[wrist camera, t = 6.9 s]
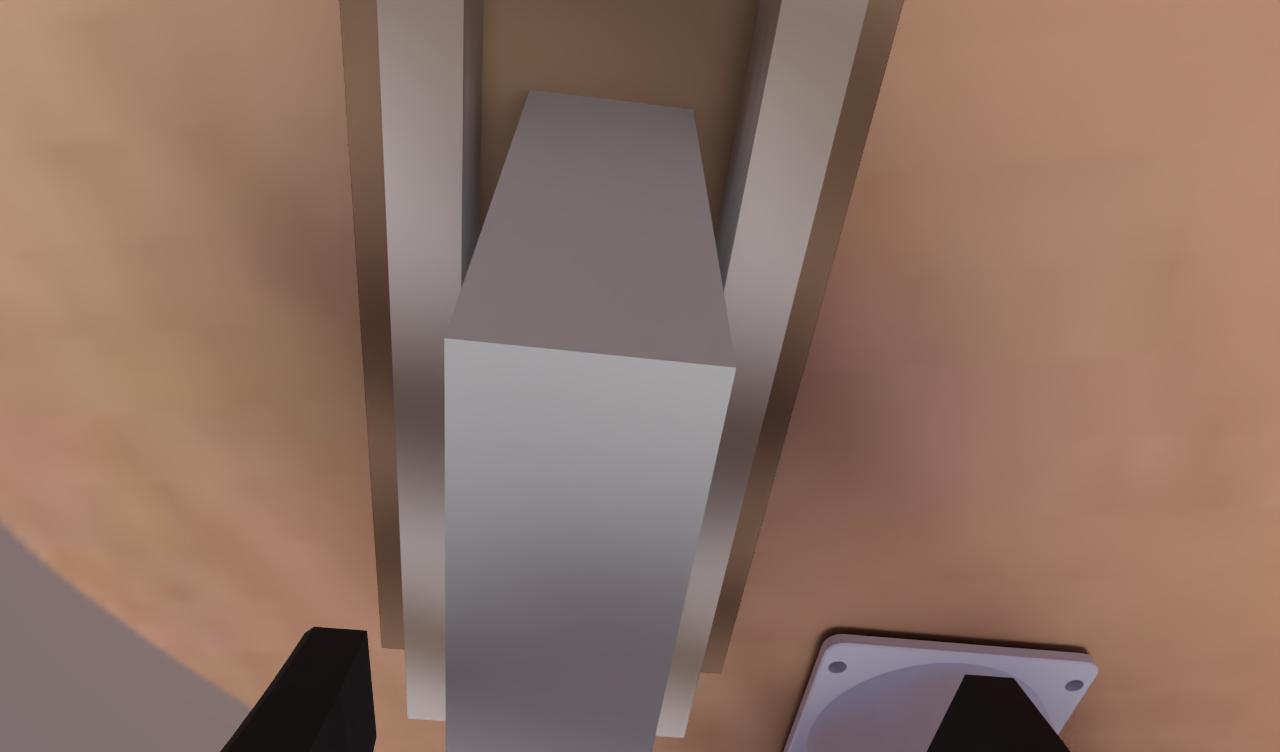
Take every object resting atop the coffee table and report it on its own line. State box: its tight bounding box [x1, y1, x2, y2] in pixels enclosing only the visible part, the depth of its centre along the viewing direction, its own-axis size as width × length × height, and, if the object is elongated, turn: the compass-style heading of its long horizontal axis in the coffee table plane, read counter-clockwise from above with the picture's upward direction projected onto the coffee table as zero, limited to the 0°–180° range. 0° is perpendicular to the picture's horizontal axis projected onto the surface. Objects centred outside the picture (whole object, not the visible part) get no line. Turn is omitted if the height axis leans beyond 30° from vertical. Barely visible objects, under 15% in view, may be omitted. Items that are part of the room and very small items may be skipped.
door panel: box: [444, 90, 736, 752], centre depth 15 cm, size 10×3×8 cm, turn 173°
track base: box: [339, 0, 904, 738], centre depth 18 cm, size 18×9×4 cm, turn 173°
